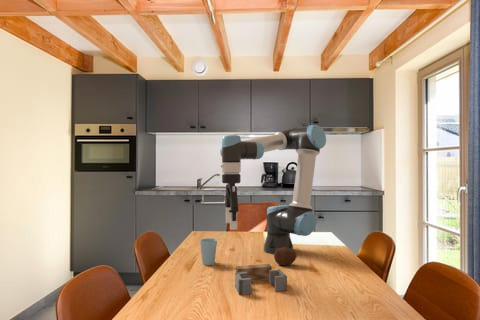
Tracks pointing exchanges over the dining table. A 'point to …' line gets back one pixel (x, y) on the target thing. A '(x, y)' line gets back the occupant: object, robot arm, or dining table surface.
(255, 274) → the dark brown block
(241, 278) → the endcap
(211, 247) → the cup
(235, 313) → the dining table surface
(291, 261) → the potato
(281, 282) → the endcap
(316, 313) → the dining table surface
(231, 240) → the dining table surface
